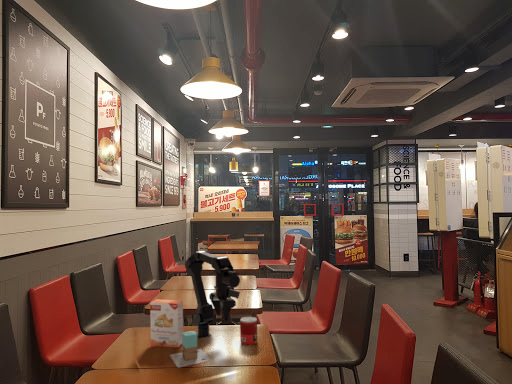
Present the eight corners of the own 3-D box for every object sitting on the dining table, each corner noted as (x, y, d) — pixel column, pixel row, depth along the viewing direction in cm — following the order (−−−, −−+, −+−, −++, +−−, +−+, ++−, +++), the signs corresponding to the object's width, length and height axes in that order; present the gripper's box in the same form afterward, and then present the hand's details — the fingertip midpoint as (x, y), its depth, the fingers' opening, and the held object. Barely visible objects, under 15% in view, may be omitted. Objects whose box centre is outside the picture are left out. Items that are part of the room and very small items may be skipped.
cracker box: (150, 347, 167) (149, 301, 168) (156, 342, 173) (156, 298, 174) (178, 350, 164) (177, 303, 165) (183, 345, 170) (183, 299, 171)
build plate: (169, 357, 156) (169, 354, 156) (200, 350, 162) (200, 347, 162) (177, 370, 143) (177, 366, 144) (211, 362, 150) (211, 359, 150)
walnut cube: (182, 356, 154) (182, 344, 154) (193, 354, 156) (193, 342, 156) (185, 360, 150) (185, 348, 150) (197, 358, 152) (197, 346, 152)
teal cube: (182, 344, 154) (182, 332, 154) (193, 342, 156) (193, 330, 157) (185, 348, 150) (185, 336, 150) (197, 346, 152) (197, 334, 152)
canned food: (257, 345, 167) (256, 321, 167) (240, 345, 167) (239, 321, 168) (257, 339, 175) (257, 316, 175) (241, 339, 175) (240, 316, 175)
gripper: (246, 285, 164) (246, 320, 164) (230, 278, 181) (230, 310, 181) (223, 288, 159) (223, 324, 159) (208, 281, 176) (209, 313, 175)
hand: (222, 318), depth 169 cm, fingers open, 9 cm apart
